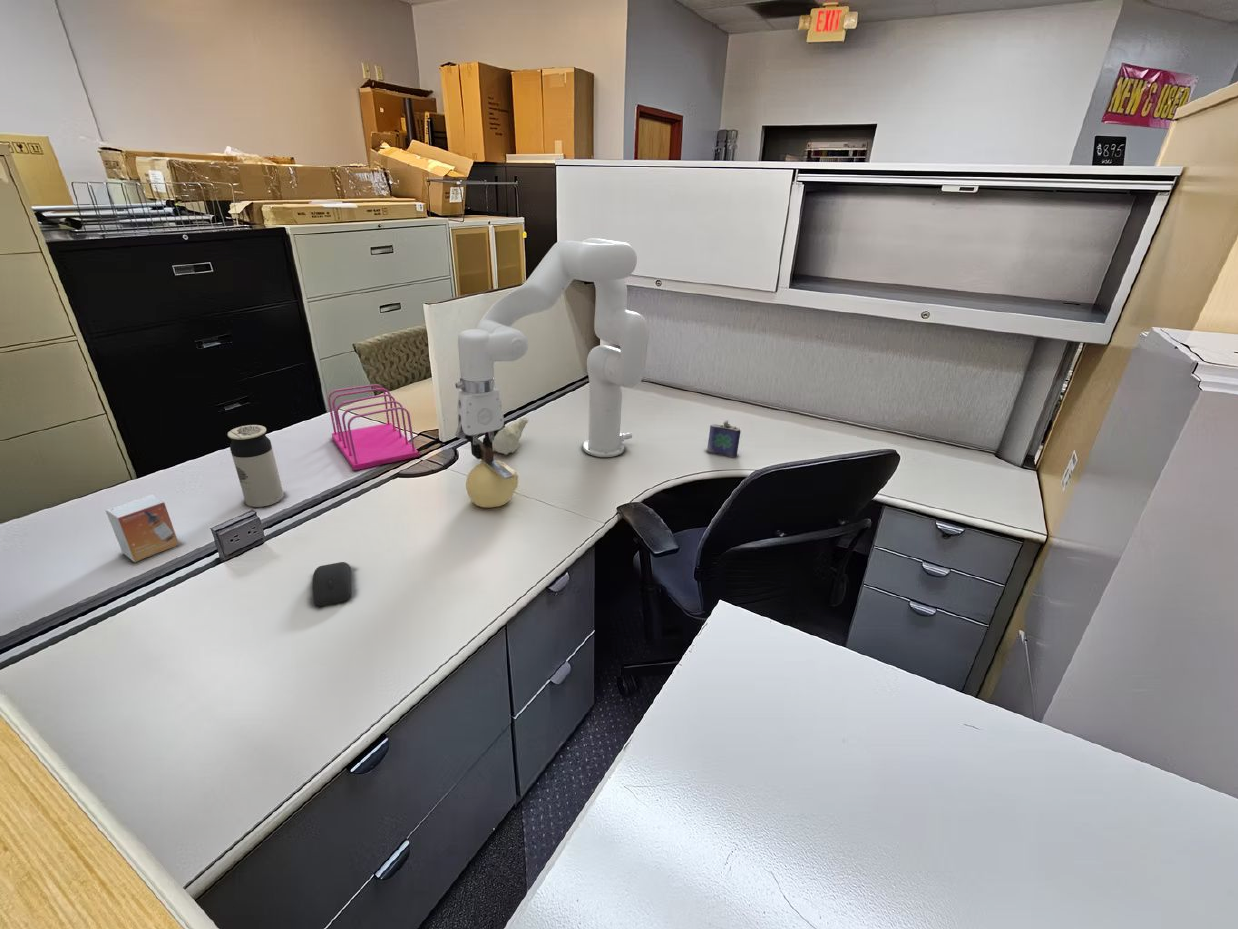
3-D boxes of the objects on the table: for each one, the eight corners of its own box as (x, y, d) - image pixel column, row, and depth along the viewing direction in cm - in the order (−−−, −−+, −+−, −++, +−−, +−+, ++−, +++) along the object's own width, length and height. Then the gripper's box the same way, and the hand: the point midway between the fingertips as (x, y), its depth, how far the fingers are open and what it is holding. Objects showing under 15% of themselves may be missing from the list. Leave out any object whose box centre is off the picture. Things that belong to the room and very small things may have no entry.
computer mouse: (314, 608, 102) (309, 591, 100) (316, 572, 111) (312, 556, 109) (351, 601, 104) (348, 584, 103) (351, 566, 114) (347, 550, 112)
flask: (706, 452, 172) (710, 420, 167) (707, 449, 174) (712, 417, 169) (736, 458, 169) (741, 425, 164) (737, 454, 172) (742, 422, 167)
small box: (134, 563, 111) (116, 518, 106) (122, 553, 114) (103, 509, 109) (180, 544, 117) (164, 501, 113) (167, 535, 120) (151, 493, 115)
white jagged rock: (489, 469, 159) (529, 438, 157) (473, 449, 158) (513, 417, 156) (503, 462, 174) (540, 433, 172) (488, 443, 173) (526, 414, 171)
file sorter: (354, 471, 149) (344, 417, 142) (332, 438, 167) (322, 388, 160) (419, 457, 159) (413, 405, 152) (391, 427, 177) (384, 379, 170)
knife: (470, 451, 139) (469, 440, 138) (480, 449, 141) (479, 438, 140) (504, 479, 127) (503, 467, 126) (514, 476, 128) (514, 464, 127)
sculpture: (525, 501, 140) (524, 462, 135) (485, 518, 132) (482, 478, 127) (498, 484, 147) (496, 447, 142) (458, 500, 139) (455, 461, 134)
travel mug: (278, 488, 140) (261, 421, 132) (288, 500, 135) (271, 432, 127) (241, 498, 135) (221, 429, 127) (251, 511, 130) (231, 441, 122)
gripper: (451, 394, 122) (457, 469, 130) (516, 383, 131) (518, 454, 139) (438, 385, 127) (445, 457, 135) (501, 375, 136) (504, 443, 145)
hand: (482, 455), depth 137 cm, fingers closed on knife, 2 cm apart
